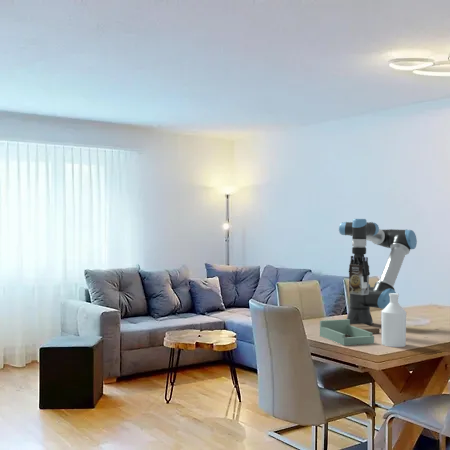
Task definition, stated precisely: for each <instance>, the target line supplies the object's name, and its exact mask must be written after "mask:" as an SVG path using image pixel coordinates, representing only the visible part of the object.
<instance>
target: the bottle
mask: <svg viewBox="0 0 450 450" xmlns="http://www.w3.org/2000/svg"><path fill="white" fill-rule="evenodd" d="M389 296H390V303H389V304H388V305H387V306H386V307H385V308H384V309H381V321H380V322H381V345H382V346H386V347H391V348H392V347H393V348H403V347H405V346H406V344H407V343H406V342H407V340H406V339H407V311H406V310H405V309H404V308H403V307H402V305H400V304H399V296H400V294H399V293H389Z"/></svg>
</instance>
